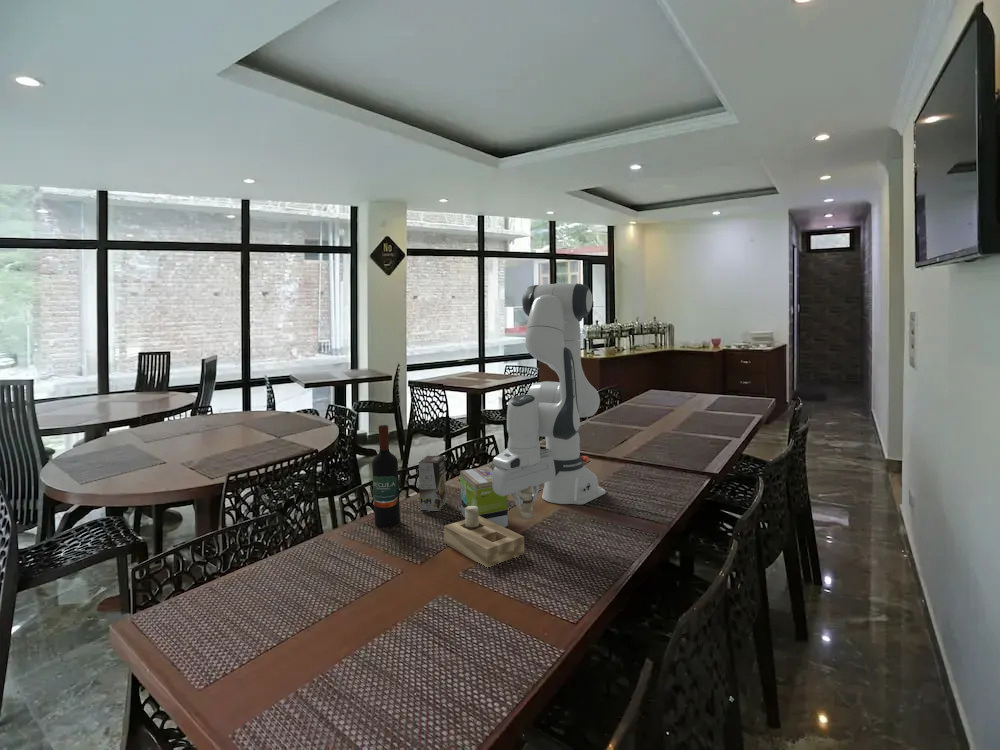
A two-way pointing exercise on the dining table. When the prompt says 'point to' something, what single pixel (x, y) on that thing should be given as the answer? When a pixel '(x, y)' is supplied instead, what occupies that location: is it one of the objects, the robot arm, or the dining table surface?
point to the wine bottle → (385, 483)
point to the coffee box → (432, 483)
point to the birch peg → (526, 503)
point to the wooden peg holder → (483, 539)
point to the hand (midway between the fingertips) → (526, 502)
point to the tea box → (483, 495)
